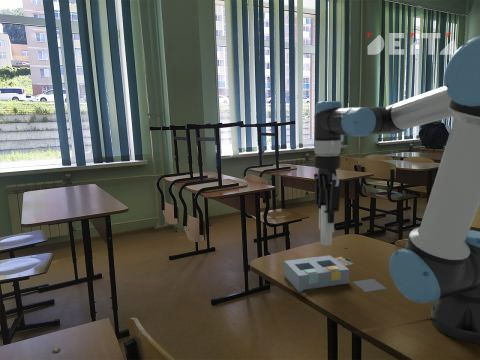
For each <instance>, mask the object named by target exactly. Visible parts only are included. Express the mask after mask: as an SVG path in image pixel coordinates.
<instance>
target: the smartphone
mask: <svg viewBox="0 0 480 360" xmlns="http://www.w3.org/2000/svg"><path fill="white" fill-rule="evenodd" d="M333 258H334V259H336V260H337V261H339V262H340V263H341V264H343V265H344V266H345V267H348V266H354V265H356V263H354V262H352V261H351V260H349V259H348V258H345V257H343V256H342V255H341V256H337V257H333Z"/></svg>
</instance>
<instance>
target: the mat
mask: <svg viewBox="0 0 480 360" xmlns="http://www.w3.org/2000/svg"><path fill="white" fill-rule="evenodd" d="M352 283H353V284H354V285H355V286H356V287H358V288H360V289H361V290H362V291H363V292H365V293H369V292H374V291H382V290H387V289H388V288H387V287H385V286H384V285H383V284H381V283H380V282H378V281H377V280H375V279H374V278H370V279H369V278H368V279H362V280H357V281H354V280H353V281H352Z"/></svg>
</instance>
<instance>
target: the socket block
mask: <svg viewBox="0 0 480 360" xmlns="http://www.w3.org/2000/svg"><path fill="white" fill-rule="evenodd" d="M334 258H335V257H334V256H332V255H321V256H314V257H305V258H304V257H303V258H297V259H290V260H289V259H288V260H284V261H283V264H284V265H283V267H284V268H283V275H284V277H285V278H286V279H287V280H288V282H289V283H290V284H291V285H292V286H293V287H294V288H295V289H296V291H298V293H303V292H304V291H306V290H311V289H318V288H319V289H320V288H324V287H325V288H326V287H331V286H338V285H346V284H350V269H349V268H348V266H344V265H343V264H341V263H340V262H339V261H337V260H336V259H334Z"/></svg>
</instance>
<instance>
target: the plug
mask: <svg viewBox="0 0 480 360" xmlns="http://www.w3.org/2000/svg"><path fill="white" fill-rule="evenodd" d="M324 211H326V205H321V230H320V245H322V246H326V247H328V246H332V245H333V244H332V243H333V233H324V228H325V212H324Z"/></svg>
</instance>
